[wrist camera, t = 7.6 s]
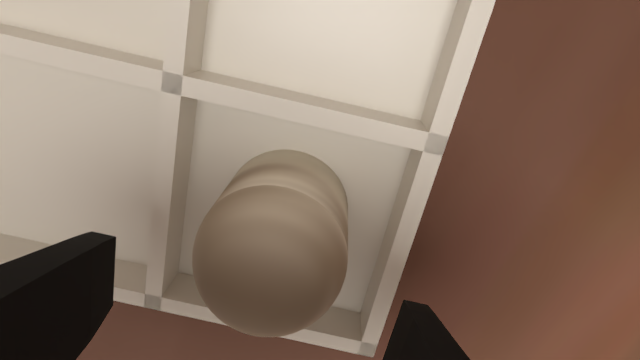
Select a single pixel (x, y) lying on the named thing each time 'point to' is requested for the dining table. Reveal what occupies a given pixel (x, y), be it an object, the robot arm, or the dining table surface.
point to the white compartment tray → (226, 129)
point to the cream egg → (274, 245)
